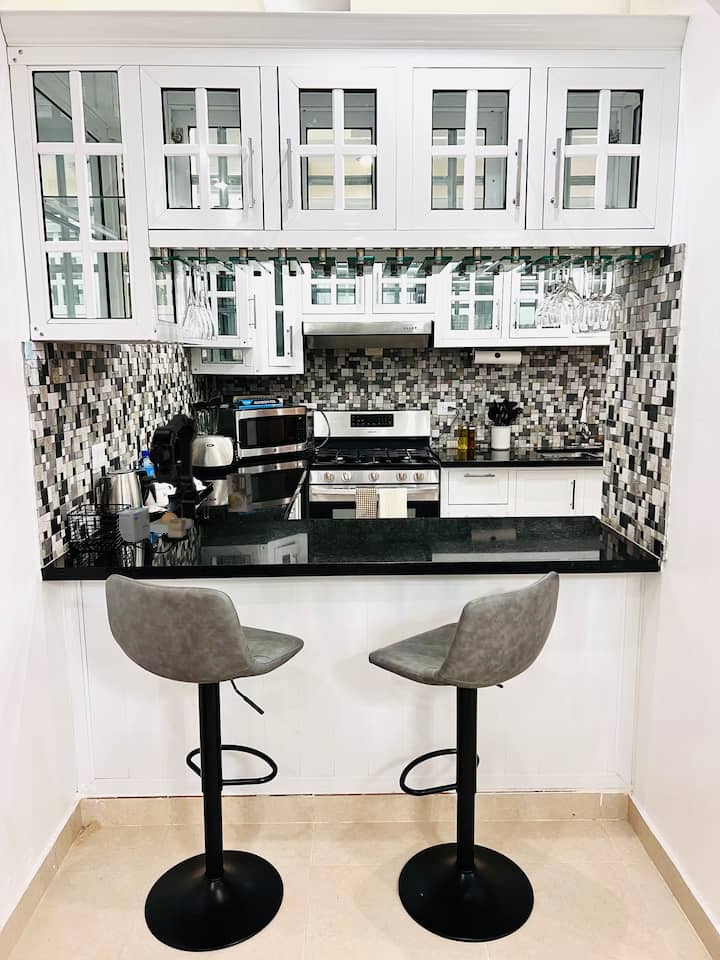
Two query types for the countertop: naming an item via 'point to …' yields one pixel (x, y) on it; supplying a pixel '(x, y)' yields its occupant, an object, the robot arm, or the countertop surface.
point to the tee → (177, 527)
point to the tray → (165, 526)
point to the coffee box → (239, 492)
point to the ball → (167, 517)
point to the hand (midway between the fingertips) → (168, 502)
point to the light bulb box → (134, 524)
